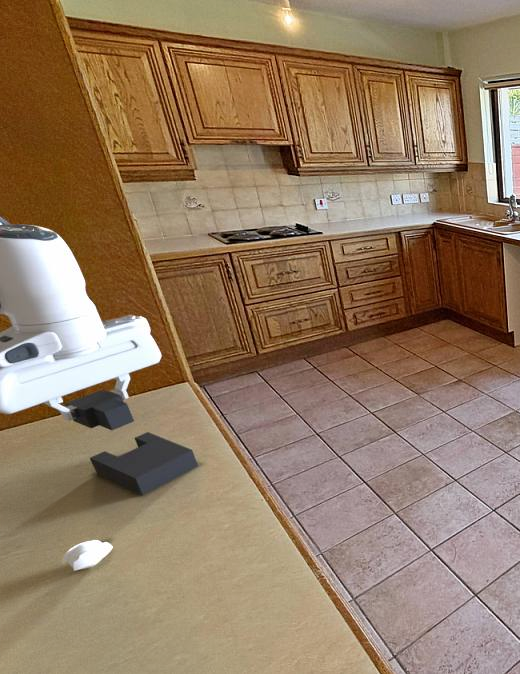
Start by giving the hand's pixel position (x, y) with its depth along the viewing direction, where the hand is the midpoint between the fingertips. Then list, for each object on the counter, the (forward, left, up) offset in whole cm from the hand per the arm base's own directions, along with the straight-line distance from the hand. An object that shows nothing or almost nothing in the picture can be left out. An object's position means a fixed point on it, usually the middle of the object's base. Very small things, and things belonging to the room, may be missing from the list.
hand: (97, 408), depth 78 cm
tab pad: (+2, 0, -2) cm, 2 cm away
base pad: (+9, 0, -10) cm, 13 cm away
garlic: (+23, -14, -10) cm, 28 cm away
